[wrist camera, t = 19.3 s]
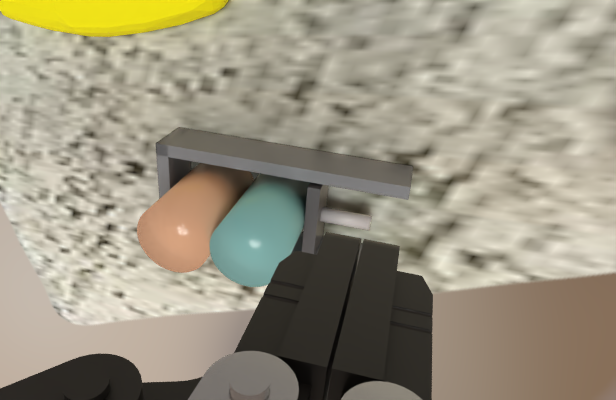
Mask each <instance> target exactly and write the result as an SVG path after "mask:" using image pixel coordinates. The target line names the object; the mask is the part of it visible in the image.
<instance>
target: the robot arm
mask: <svg viewBox="0 0 616 400" xmlns="http://www.w3.org/2000/svg"><path fill="white" fill-rule="evenodd" d="M360 245H361V239H360V238H355V237H350V236H345V235H340V234H335V233H329V232H326V233H325V235H324V238H323V240H322V243H321V246H320V248H319V251H318V253H317V255H315V254H310V253H306V252H301V251H295V252H293V253H292V254H291V255H289V256H288V257H286V258H285V259H284V260H282V261H281V262H279V264H278V266H277V268H276V270H275V272H274V274H273V276H272V278H271V281H270V283H269V284H268V286H267V288H266V290H265V292H264V296H263V297H262V298H261V300H260V302H259V304H258V306H257V308H256V310H255V312H254V314H253V316H252V318H251V320H250V322H249V324H248V326H247V328H246V330H245V332H244V334H243V336H242V338H241V340H240V342H239V344H238V347H237V348H236V350H235V352H234V353H233V354H230V355H227V356H225V357H223V358H221V359H219V360H218V361H216V362H215V363H214V364H213V365H212V366H211V367H210V368H209V369H208V370H207V371H206V373H205V374H204V376H203V377H201V378H198V379H193V380H188V381H178V382H151V383H149V382H148V383H142V380H141V375H140V373H139V371H138V369H137V368H136V367H135V365H134V364H133V363H131V362H130V361H129V360H127V359H125V358H123V357H120V356H117V355H112V354H92V355H86V356H82V357H78V358H76V359H73V360H70V361H68V362H65V363H63V364H60V365H58V366H55V367H53V368H50V369H48V370H45V371H43V372H40V373H38V374H35V375H33V376H30V377H28V378H25V379H23V380H21V381H18V382H16V383H13V384H11V385H8V386H6V387H3V388H1V389H0V400H432V399H431V392H432V390H431V389H432V388H431V387H432V308H433V305H432V304H433V294H432V293H431V291H430V289H429V287H428V286H427V284H426V282H425V280H424V279H423V277H422V276H419V275H414V274H409V273H405V272H400V271H397V264H398V256H399V247H400V246H397V245H392V244H386V243H381V242H376V241H371V240H366V239H364V241H363V245H362V249H361V253H360V257H359V251H360ZM358 258H359V261H358ZM357 264H358V265H357Z"/></svg>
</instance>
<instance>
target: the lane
mask: <svg viewBox="0 0 616 400" xmlns="http://www.w3.org/2000/svg"><path fill="white" fill-rule="evenodd" d="M156 153H157V169H158V184H159V199H160V198H161V197H162V196H163V195H164V194H166V193H167V192H168V191H169V190H170V189H171V188H172V187H173V186H174V185H176V184H177V183H178V182H179V181H180V180H181V179H182V178H183V177H184V176H186V175H187V174H188V173H189V172H190V171H191V161H193V162H199V163H205V164H210V165H216V166H222V167H227V168H233V169H238V170H244V171H250V172H255V173H261V174H267V175H272V176H278V177H283V178H289V179H295V180H300V181H306V182H312V183H317V184H323V185H328V186H334V187H340V188H345V189H351V190H357V191H362V192H368V193H373V194H379V195H385V196H390V197H396V198H402V199H407V200H408V198H409V193H410V188H411V179H412V171H413V166H408V165H402V164H396V163H390V162H384V161H378V160H372V159H366V158H360V157H354V156H348V155H342V154H336V153H330V152H324V151H318V150H312V149H306V148H300V147H294V146H288V145H282V144H276V143H270V142H264V141H258V140H252V139H246V138H240V137H234V136H228V135H222V134H216V133H210V132H204V131H198V130H192V129H186V128H180V127H179V128H177V129H176V130H174V131H173V132H171V133H170V134H168V135H167V136H166V137H164V138H163V139H161V140H160V141H158V142H157V143H156ZM323 238H324V236H323V237H322V239H321V242H320V244H319V246H318V249H317V251H316V254H315V255H317V253H318V251H319V248H320V246H321V243H322V240H323ZM302 243H303V232H301V234H300V236H299V238H298V240H297V242H296V244H295V246H294V248H293V250H292V252H291V254H292V253H293V252H295V251H301V252H302ZM362 245H363V244H361V245H360V251H359V257H360V253H361V249H362ZM358 261H359V258H358ZM357 265H358V264H357Z"/></svg>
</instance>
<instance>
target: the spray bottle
mask: <svg viewBox="0 0 616 400" xmlns="http://www.w3.org/2000/svg"><path fill="white" fill-rule="evenodd" d="M227 2H228V0H0V11H1V12H2V14H3V15H4V16H6V17H8V18H11V19H14V20H17V21H20V22H24V23H27V24H30V25H34V26H38V27H42V28H46V29H50V30H54V31H60V32H66V33H72V34H78V35H84V36H98V37H111V36H120V35H128V34H136V33H143V32H149V31H153V30H158V29H163V28H167V27H172V26H177V25H182V24H185V23H188V22H191V21H194V20H197V19H200V18H203V17H206V16H209V15H212V14H214V13H216V12H217V11H219V10H220V9H222V8H223V7H224V6H225V5H226V3H227Z"/></svg>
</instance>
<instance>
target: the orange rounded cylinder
mask: <svg viewBox="0 0 616 400" xmlns="http://www.w3.org/2000/svg"><path fill="white" fill-rule="evenodd" d="M253 181H254V180H253V177H252V174H251V172H250V171H244V170H238V169H233V168H227V167H222V166H216V165H210V164H205V163H199V164H198V165H197V166H196V167H194V168H193V169H192V170H191V171H190V172H189V173H188V174H187V175H186V176H184V177H183V178H182V179H181V180H180V181H179V182H178V183H177V184H176V185H174V186H173V187H172V188H171V189H170V190H169V191H168V192H167V193H166V194H164V195H163V196H162V197H161V198H160V199H159V200H158V201H157V202H156V203H154V204H153V205H152V206H151V207H150V208H149V209H148V210H147V211H146V212H145V213H144V214H143V215H142V216H141V217H140V219H139V222H138V226H137V235H138V239H139V242H140V245H141V247H142V248H143V250H144V251H145V253H146V254H147V255H148V256H149V258H151V259H152V260H153V261H154V262H155V263H156V264H158V265H159V266H161V267H163V268H165V269H168V270H170V271H174V272H190V271H193V270H196V269H198V268H199V267H200V266H202V264H203V263H204V262H205V261H206V259H207V258H208V257H209V255H210V247H209V246H210V239H211V236H212V234H213V232H214V231H215V229H216V228H217V227H218V225H219V224H220V223H221V222H222V220H223V219H224V218H225V217H226V215H227V214H228V213H229V212H230V210H231V209H232V208H233V207H234V205H235V204H236V203H237V202H238V200H239V199H240V198H241V196H242V195H243V194H244V193H245V191H246V190H247V189H248V188H249V186H250V185H251V184H252V183H253Z"/></svg>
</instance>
